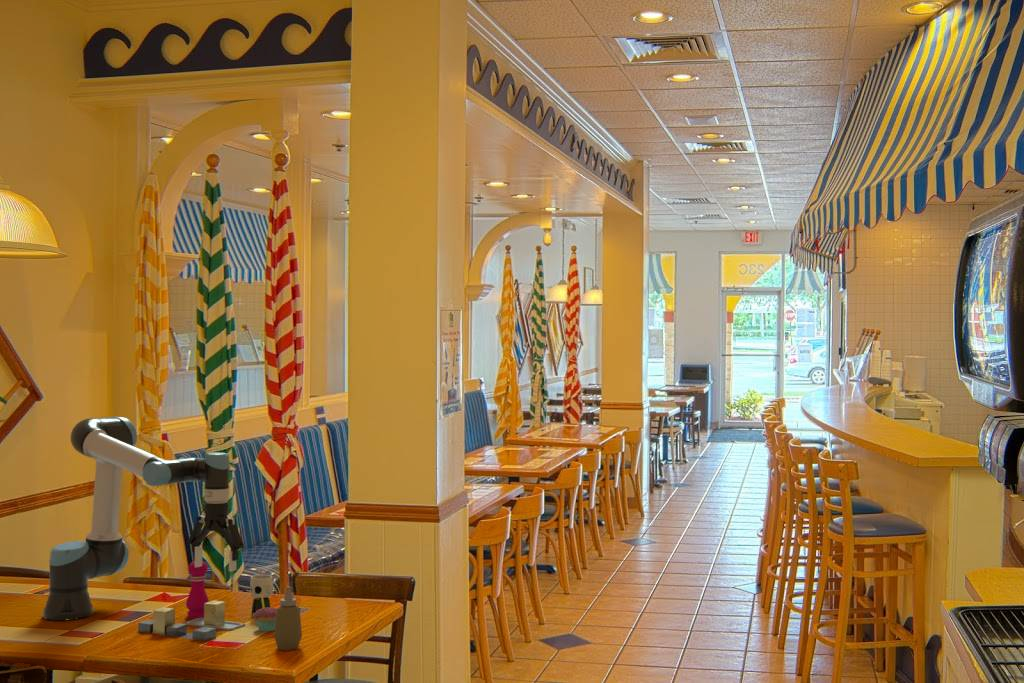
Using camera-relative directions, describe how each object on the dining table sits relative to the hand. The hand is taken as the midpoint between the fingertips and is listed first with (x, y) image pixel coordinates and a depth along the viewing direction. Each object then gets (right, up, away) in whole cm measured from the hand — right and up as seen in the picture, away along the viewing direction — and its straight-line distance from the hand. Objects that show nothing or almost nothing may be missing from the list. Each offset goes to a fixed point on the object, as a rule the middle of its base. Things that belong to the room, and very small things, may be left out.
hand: (215, 568), depth 337 cm
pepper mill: (-9, -18, +11) cm, 23 cm away
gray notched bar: (-8, -18, -12) cm, 23 cm away
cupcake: (+18, -18, -5) cm, 26 cm away
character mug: (+11, -19, +13) cm, 26 cm away
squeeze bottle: (+28, -18, -25) cm, 42 cm away
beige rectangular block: (0, -18, -1) cm, 18 cm away
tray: (0, -18, 0) cm, 18 cm away
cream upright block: (-13, -17, -10) cm, 24 cm away
